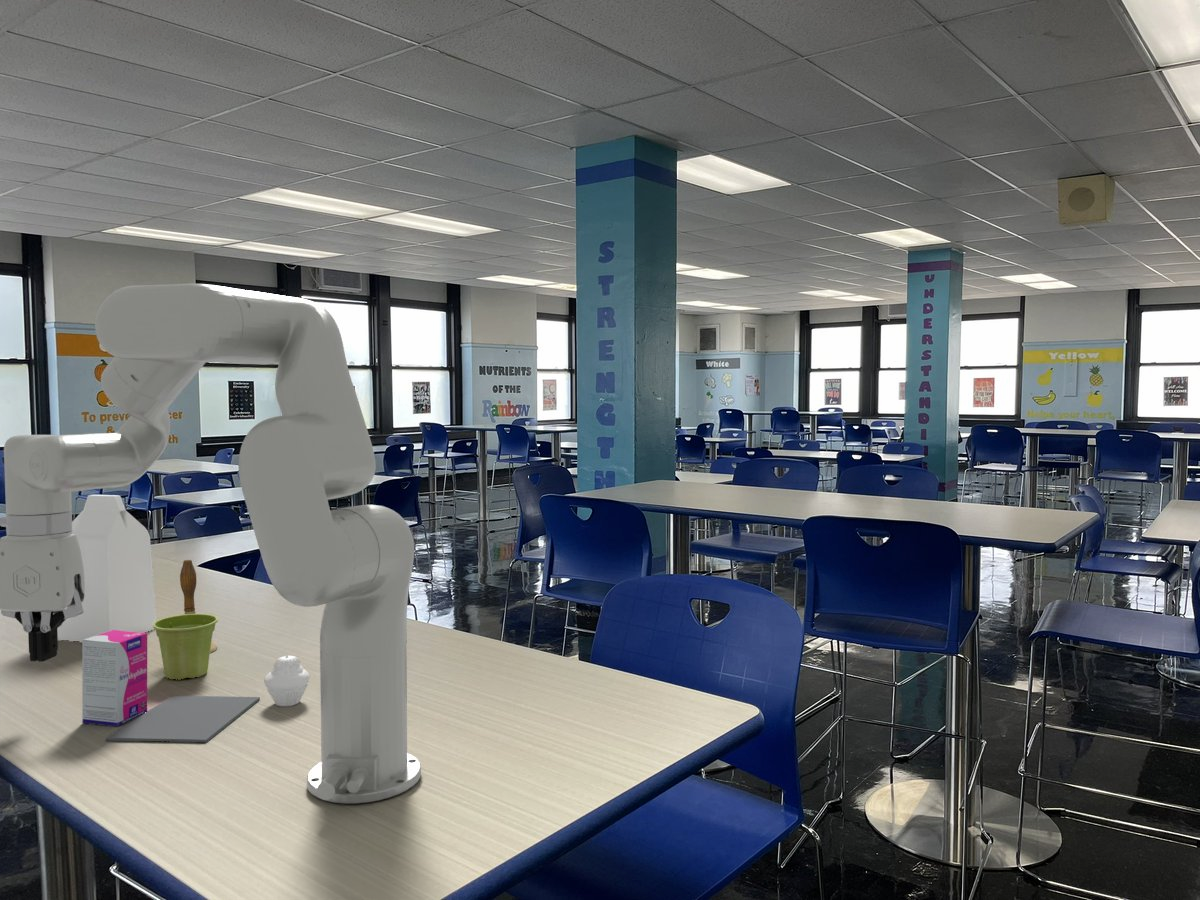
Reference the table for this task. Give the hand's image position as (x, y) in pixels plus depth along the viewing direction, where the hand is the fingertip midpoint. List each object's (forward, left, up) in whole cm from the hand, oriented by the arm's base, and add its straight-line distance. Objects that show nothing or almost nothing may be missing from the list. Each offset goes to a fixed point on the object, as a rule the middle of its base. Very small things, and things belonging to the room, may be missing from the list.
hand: (43, 658), depth 119 cm
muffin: (+7, -31, -8) cm, 33 cm away
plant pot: (+19, -10, -8) cm, 23 cm away
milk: (+42, +17, -8) cm, 46 cm away
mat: (0, -20, -8) cm, 21 cm away
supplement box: (0, -10, -8) cm, 13 cm away
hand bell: (+32, -4, -8) cm, 33 cm away
